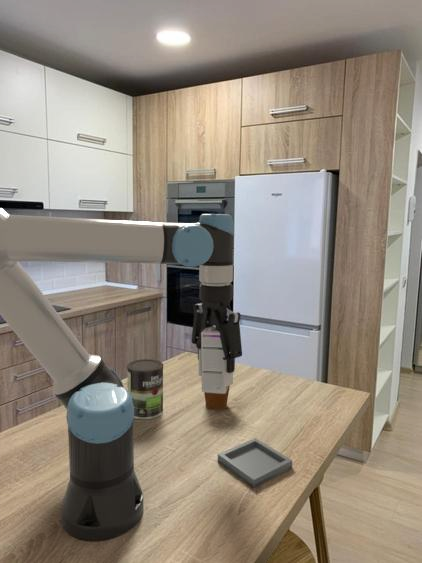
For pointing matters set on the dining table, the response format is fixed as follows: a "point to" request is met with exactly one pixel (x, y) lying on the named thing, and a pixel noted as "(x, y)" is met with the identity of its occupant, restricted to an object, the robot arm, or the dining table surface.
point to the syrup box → (212, 361)
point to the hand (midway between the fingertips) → (215, 379)
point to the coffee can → (146, 388)
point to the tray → (254, 462)
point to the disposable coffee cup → (216, 400)
